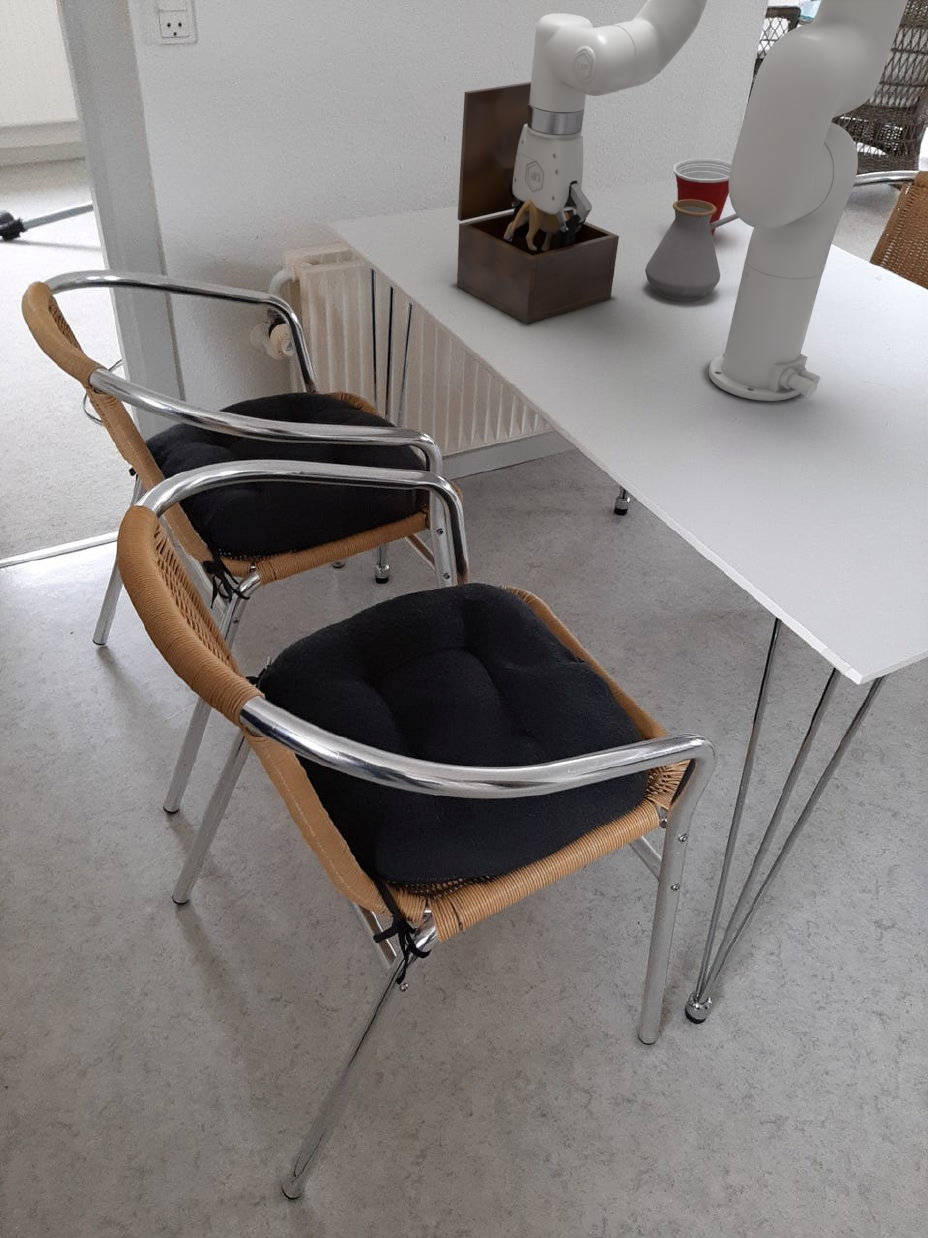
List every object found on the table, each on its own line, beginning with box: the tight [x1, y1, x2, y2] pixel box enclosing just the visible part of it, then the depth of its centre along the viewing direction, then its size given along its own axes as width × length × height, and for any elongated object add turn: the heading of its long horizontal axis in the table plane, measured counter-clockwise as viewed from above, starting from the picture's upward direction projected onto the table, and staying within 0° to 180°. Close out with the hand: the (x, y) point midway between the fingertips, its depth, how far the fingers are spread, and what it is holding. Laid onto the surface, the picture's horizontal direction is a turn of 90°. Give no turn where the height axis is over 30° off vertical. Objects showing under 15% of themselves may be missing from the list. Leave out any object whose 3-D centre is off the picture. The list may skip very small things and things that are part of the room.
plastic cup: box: [673, 157, 732, 237], centre depth 170 cm, size 11×11×12 cm
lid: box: [457, 81, 531, 222], centre depth 147 cm, size 17×17×5 cm
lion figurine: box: [504, 200, 582, 252], centre depth 146 cm, size 15×5×9 cm, turn 136°
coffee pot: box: [644, 199, 740, 302], centre depth 152 cm, size 21×12×15 cm, turn 98°
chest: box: [456, 210, 620, 325], centre depth 151 cm, size 16×17×10 cm
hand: (541, 245), depth 148 cm, fingers open, 9 cm apart
